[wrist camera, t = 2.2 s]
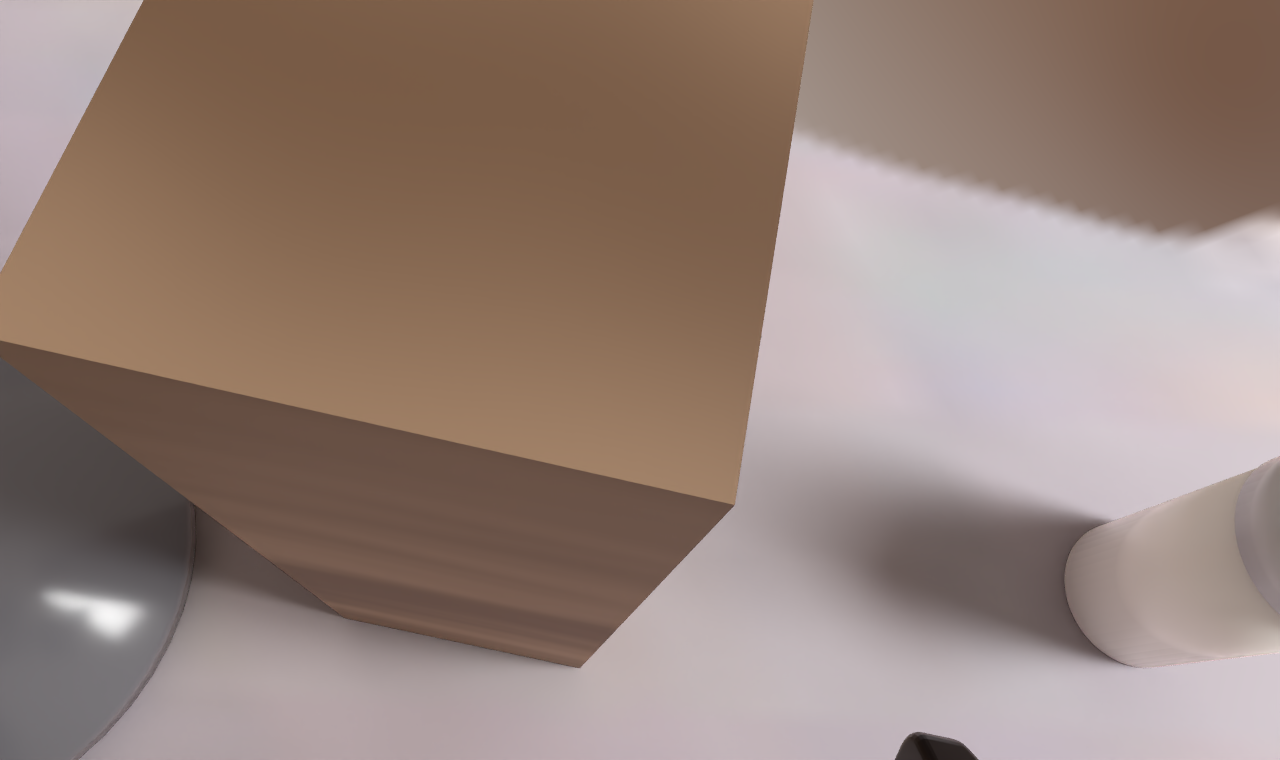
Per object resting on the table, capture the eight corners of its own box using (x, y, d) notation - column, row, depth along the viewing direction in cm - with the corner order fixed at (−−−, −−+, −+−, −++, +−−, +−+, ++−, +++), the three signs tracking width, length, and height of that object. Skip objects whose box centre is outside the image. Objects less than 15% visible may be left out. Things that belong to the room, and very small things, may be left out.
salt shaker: (1176, 700, 19) (1455, 682, 13) (1041, 617, 19) (1259, 566, 14) (1218, 570, 20) (1491, 504, 14) (1090, 494, 20) (1310, 400, 15)
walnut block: (579, 667, 18) (734, 504, 5) (343, 618, 17) (-32, 332, 5) (626, 446, 19) (821, -48, 7) (412, 397, 19) (246, -195, 7)
